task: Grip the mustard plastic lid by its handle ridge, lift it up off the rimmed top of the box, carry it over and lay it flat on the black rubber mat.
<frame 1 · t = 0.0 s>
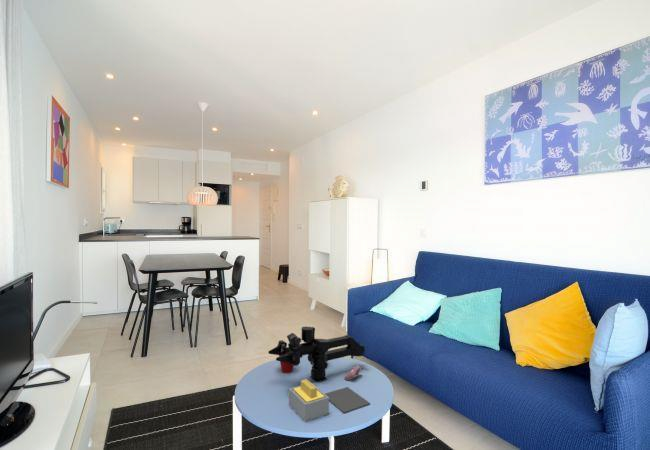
hand: (272, 355, 157), 17 cm above the table, tool horizontal, fingers open, 9 cm apart
plastic cup: (287, 371, 179), on the table
lid: (308, 394, 142), point 6 cm above the table, touching box
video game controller: (353, 378, 172), on the table
food container: (321, 366, 186), on the table
mat: (345, 399, 150), on the table
box: (308, 408, 142), on the table
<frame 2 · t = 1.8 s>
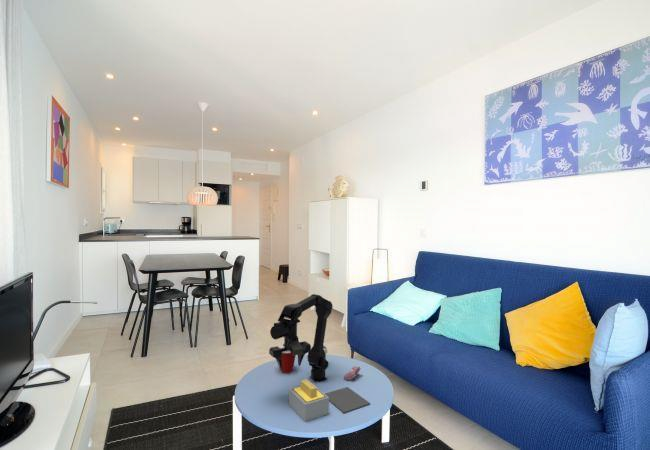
hand: (290, 367, 154), 13 cm above the table, tool pointing down, fingers open, 9 cm apart
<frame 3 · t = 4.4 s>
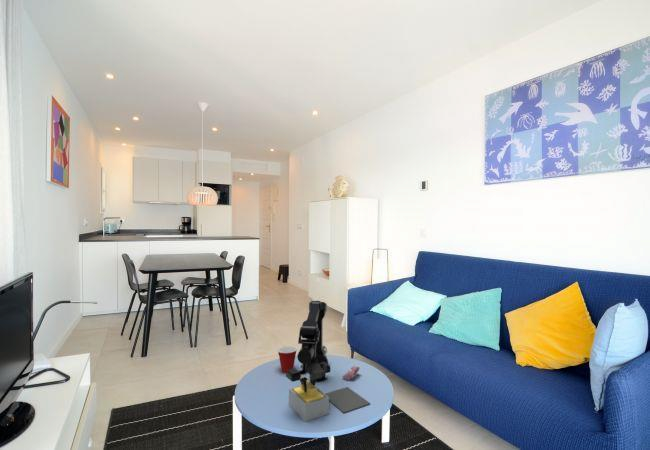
hand: (308, 391, 142), 8 cm above the table, tool pointing down, fingers closed on lid, 3 cm apart
lid: (308, 394, 142), point 6 cm above the table, touching box, gripper
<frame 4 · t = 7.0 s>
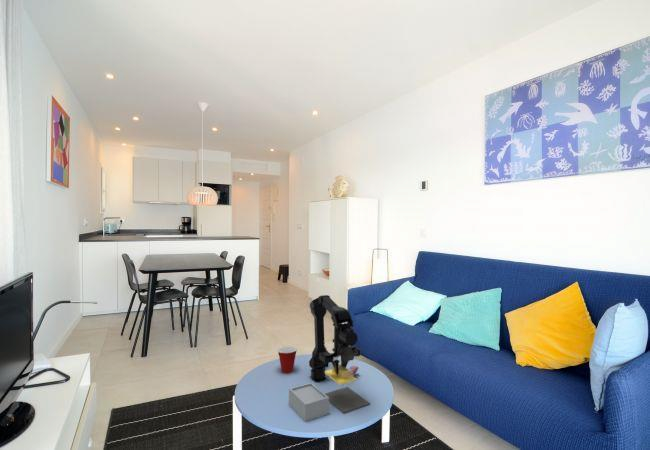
hand: (340, 373, 149), 12 cm above the table, tool pointing down, fingers closed on lid, 3 cm apart
lid: (339, 376, 149), point 11 cm above the table, touching gripper
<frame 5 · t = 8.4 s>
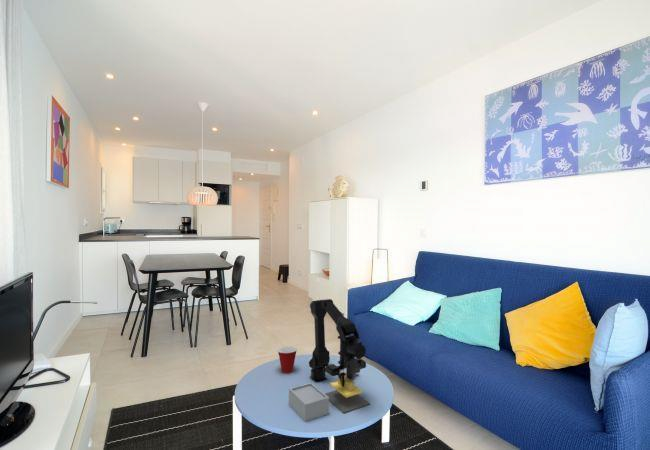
hand: (345, 385, 150), 6 cm above the table, tool pointing down, fingers closed on lid, 3 cm apart
lid: (345, 389, 150), point 5 cm above the table, touching gripper
when the fingers open (3 cm above the table, at t = 9.6 s): lid drops 1 cm, resting on mat.
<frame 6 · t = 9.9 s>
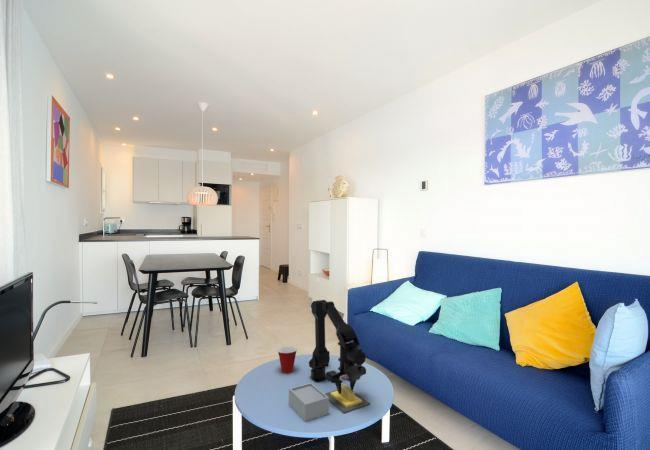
hand: (345, 392, 150), 3 cm above the table, tool pointing down, fingers open, 6 cm apart
lid: (345, 398, 150), point 1 cm above the table, touching mat
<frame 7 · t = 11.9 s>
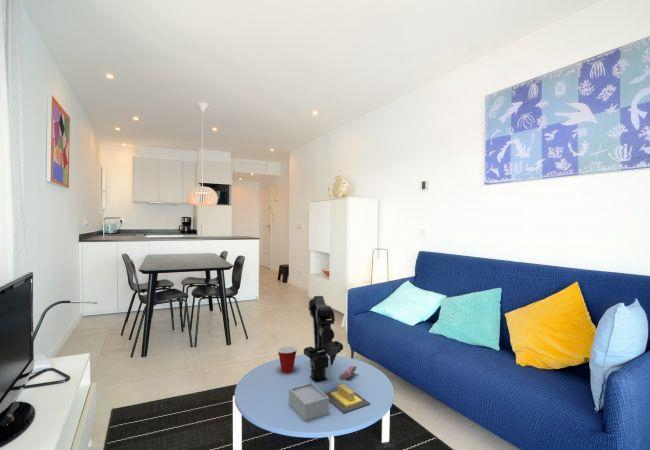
hand: (323, 367, 157), 12 cm above the table, tool pointing down, fingers open, 9 cm apart
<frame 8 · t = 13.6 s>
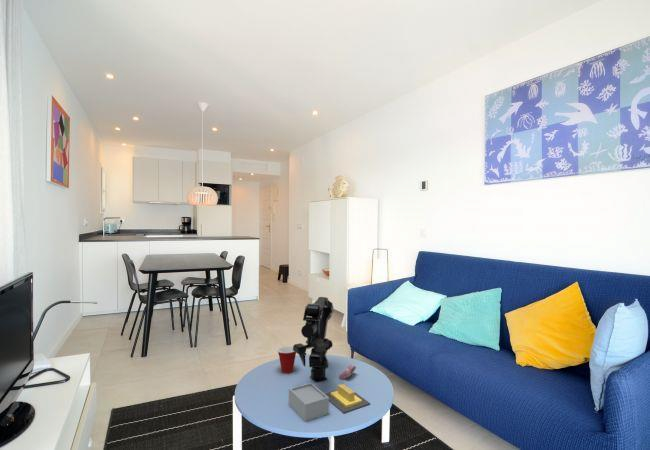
hand: (312, 363, 160), 12 cm above the table, tool pointing down, fingers open, 9 cm apart
at the end: lid inside the target area (0.0 cm from its centre), point 0.6 cm above the table; lid tilted 0°; the gripper is holding nothing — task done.
